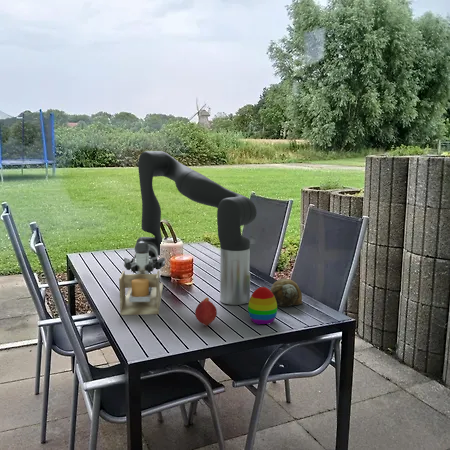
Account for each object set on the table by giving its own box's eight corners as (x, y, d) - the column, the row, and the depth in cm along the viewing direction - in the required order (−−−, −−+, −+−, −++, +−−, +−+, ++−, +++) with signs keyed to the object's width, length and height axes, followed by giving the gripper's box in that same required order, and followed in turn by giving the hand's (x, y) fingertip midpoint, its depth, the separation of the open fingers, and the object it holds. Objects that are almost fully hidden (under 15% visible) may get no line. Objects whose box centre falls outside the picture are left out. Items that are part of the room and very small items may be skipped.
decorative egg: (262, 314, 134) (263, 281, 133) (282, 322, 128) (284, 287, 126) (241, 320, 129) (242, 286, 127) (262, 329, 123) (263, 293, 121)
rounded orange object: (149, 291, 139) (149, 278, 138) (148, 296, 134) (147, 283, 133) (132, 291, 138) (132, 278, 138) (131, 296, 133) (130, 283, 133)
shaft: (153, 287, 147) (152, 239, 144) (149, 301, 134) (148, 249, 131) (134, 288, 146) (132, 240, 144) (129, 302, 133) (127, 249, 131)
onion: (197, 330, 122) (197, 301, 120) (193, 322, 127) (193, 295, 126) (218, 328, 123) (219, 300, 122) (213, 320, 129) (213, 293, 127)
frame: (162, 286, 159) (162, 256, 158) (158, 314, 133) (157, 277, 132) (131, 287, 158) (130, 256, 157) (120, 315, 132) (119, 278, 131)
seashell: (280, 311, 137) (281, 285, 135) (263, 302, 145) (264, 277, 143) (310, 305, 142) (311, 280, 140) (292, 296, 150) (293, 273, 149)
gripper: (125, 246, 156) (117, 258, 139) (166, 245, 157) (164, 257, 140) (125, 267, 157) (118, 281, 140) (167, 266, 158) (165, 281, 141)
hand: (141, 269), depth 140 cm, fingers closed on shaft, 4 cm apart
